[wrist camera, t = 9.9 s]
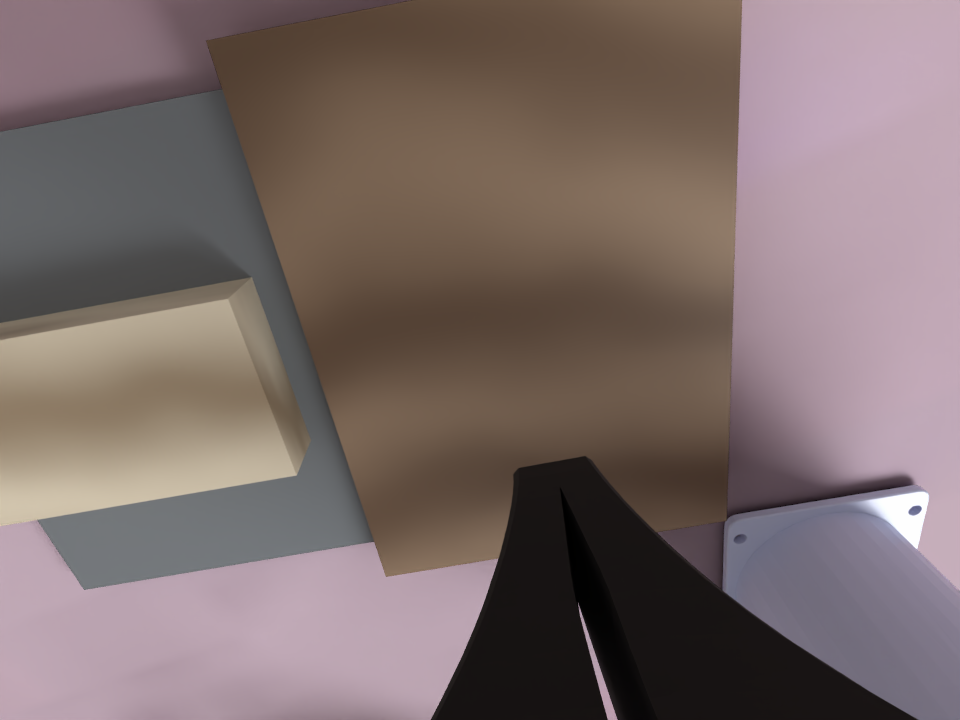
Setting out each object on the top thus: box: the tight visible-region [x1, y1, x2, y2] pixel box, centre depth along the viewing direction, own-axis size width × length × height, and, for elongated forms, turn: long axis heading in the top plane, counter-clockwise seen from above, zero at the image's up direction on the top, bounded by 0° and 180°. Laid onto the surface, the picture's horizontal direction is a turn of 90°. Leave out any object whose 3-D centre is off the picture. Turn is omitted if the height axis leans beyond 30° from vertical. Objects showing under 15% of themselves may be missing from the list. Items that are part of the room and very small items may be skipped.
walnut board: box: [206, 0, 742, 577], centre depth 18 cm, size 18×13×2 cm
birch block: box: [0, 277, 311, 526], centre depth 17 cm, size 6×10×2 cm, turn 100°
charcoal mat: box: [0, 89, 374, 590], centre depth 19 cm, size 16×12×1 cm
